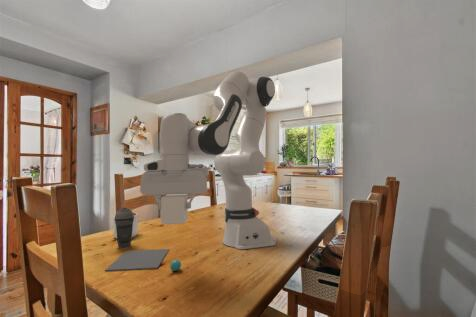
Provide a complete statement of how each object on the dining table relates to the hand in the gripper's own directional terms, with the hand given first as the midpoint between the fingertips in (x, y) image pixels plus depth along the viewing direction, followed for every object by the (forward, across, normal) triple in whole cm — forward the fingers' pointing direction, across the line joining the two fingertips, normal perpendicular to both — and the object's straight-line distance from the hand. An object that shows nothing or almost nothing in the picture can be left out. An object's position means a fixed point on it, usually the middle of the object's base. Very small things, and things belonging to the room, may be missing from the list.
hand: (175, 208), depth 71 cm
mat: (+19, +14, -10) cm, 26 cm away
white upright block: (+4, 0, 0) cm, 4 cm away
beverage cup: (+19, +25, -24) cm, 40 cm away
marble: (+18, 0, 0) cm, 18 cm away
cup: (+19, +30, -38) cm, 52 cm away
